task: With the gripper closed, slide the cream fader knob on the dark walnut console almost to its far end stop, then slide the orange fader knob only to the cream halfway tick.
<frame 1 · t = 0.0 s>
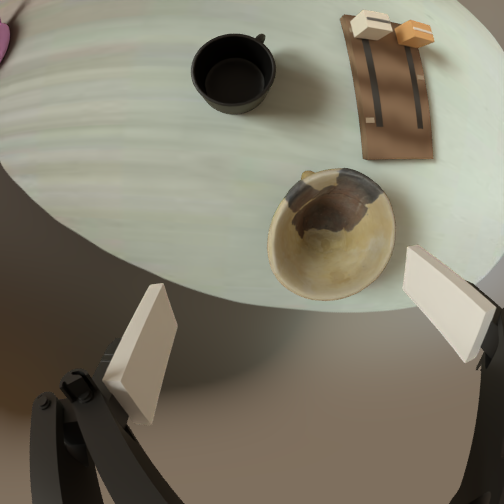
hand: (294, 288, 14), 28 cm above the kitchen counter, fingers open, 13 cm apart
cream fader knob: (371, 25, 25), point 5 cm above the kitchen counter, slide at 0.0 cm
orange fader knob: (414, 34, 25), point 5 cm above the kitchen counter, slide at 0.0 cm
mug: (239, 77, 33), on the kitchen counter
bowl: (318, 219, 42), on the kitchen counter
console board: (389, 86, 33), on the kitchen counter
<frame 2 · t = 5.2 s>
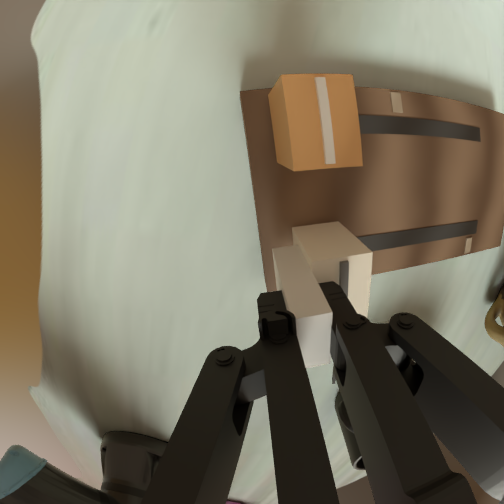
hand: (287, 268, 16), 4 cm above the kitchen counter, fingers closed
cream fader knob: (328, 272, 15), point 5 cm above the kitchen counter, slide at 0.5 cm, touching gripper
orange fader knob: (310, 123, 12), point 5 cm above the kitchen counter, slide at 0.0 cm
mug: (363, 388, 27), on the kitchen counter
teapot: (217, 503, 47), on the kitchen counter
console board: (408, 178, 18), on the kitchen counter
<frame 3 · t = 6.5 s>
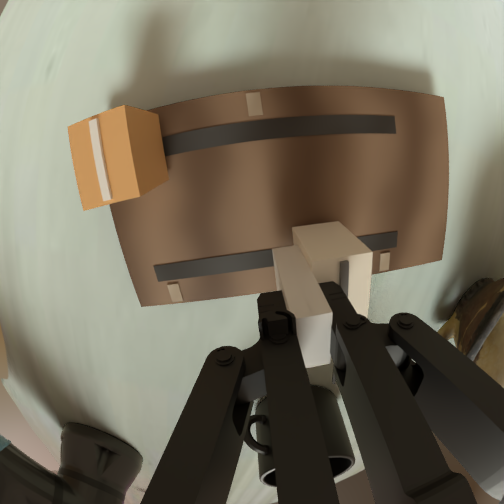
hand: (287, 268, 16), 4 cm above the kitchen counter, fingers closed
cream fader knob: (329, 271, 15), point 5 cm above the kitchen counter, slide at 9.8 cm, touching gripper
orange fader knob: (122, 155, 12), point 5 cm above the kitchen counter, slide at 0.0 cm
mug: (286, 404, 27), on the kitchen counter
bowl: (471, 301, 24), on the kitchen counter
console board: (293, 187, 18), on the kitchen counter
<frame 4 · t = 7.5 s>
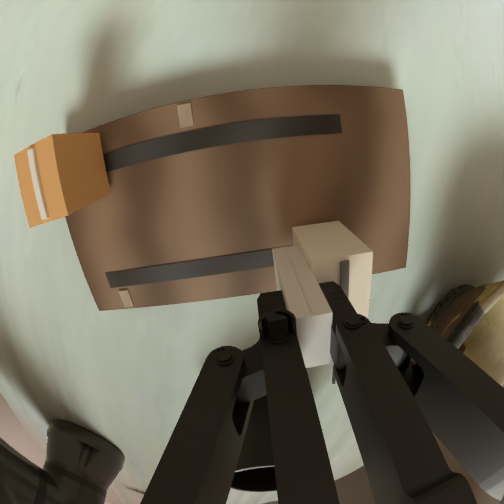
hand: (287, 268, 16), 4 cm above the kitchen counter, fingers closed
cream fader knob: (329, 271, 15), point 5 cm above the kitchen counter, slide at 13.7 cm, touching gripper
orange fader knob: (63, 175, 12), point 5 cm above the kitchen counter, slide at 0.0 cm
mug: (252, 409, 27), on the kitchen counter
bowl: (449, 309, 24), on the kitchen counter
console board: (234, 194, 18), on the kitchen counter
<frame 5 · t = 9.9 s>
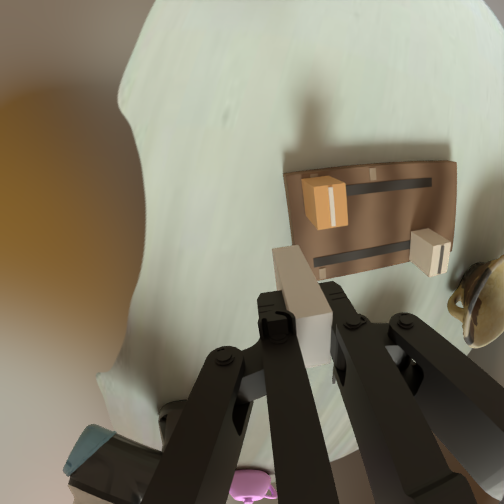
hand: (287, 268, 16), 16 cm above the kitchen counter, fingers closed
cream fader knob: (429, 251, 29), point 5 cm above the kitchen counter, slide at 13.8 cm
orange fader knob: (324, 200, 26), point 5 cm above the kitchen counter, slide at 0.0 cm
teapot: (244, 474, 61), on the kitchen counter
bowl: (470, 278, 37), on the kitchen counter
console board: (381, 214, 32), on the kitchen counter
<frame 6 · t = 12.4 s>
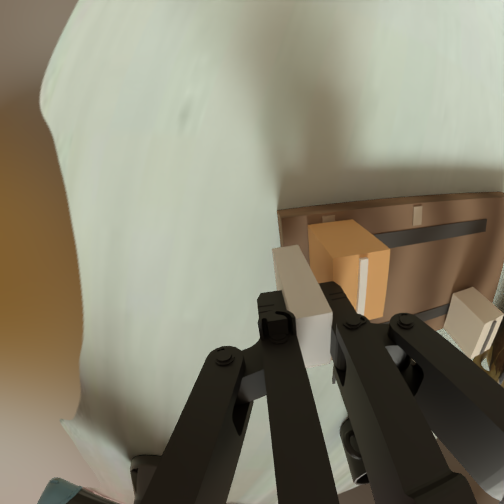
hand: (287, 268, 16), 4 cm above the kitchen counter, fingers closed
cream fader knob: (473, 322, 18), point 5 cm above the kitchen counter, slide at 13.8 cm
orange fader knob: (345, 269, 15), point 5 cm above the kitchen counter, slide at 0.0 cm, touching gripper
mug: (364, 418, 30), on the kitchen counter
bowl: (498, 329, 26), on the kitchen counter
console board: (416, 268, 21), on the kitchen counter
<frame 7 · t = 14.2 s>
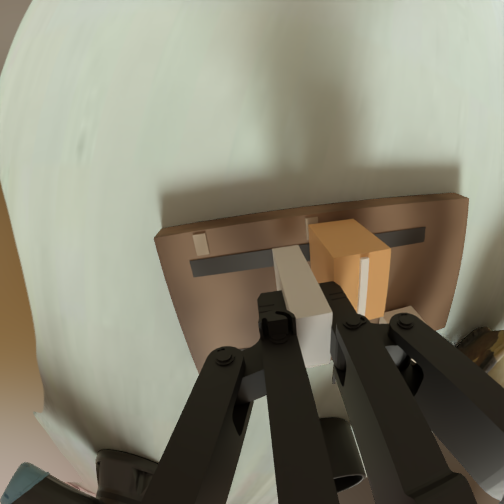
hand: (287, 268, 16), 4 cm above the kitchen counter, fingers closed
cream fader knob: (405, 347, 18), point 5 cm above the kitchen counter, slide at 13.8 cm
orange fader knob: (345, 268, 15), point 5 cm above the kitchen counter, slide at 8.2 cm, touching gripper
mug: (309, 431, 30), on the kitchen counter
bowl: (467, 345, 26), on the kitchen counter
console board: (333, 284, 21), on the kitchen counter
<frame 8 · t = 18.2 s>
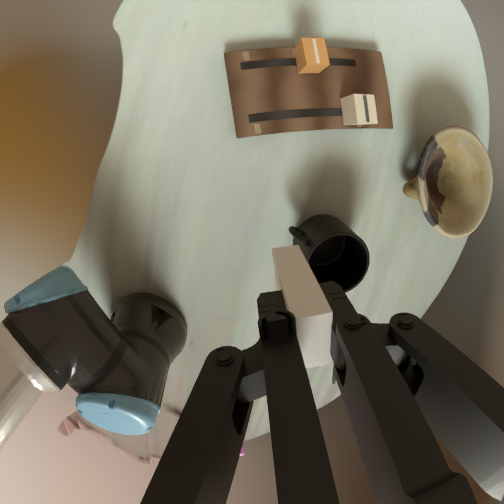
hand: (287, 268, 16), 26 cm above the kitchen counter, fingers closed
cream fader knob: (358, 110, 31), point 5 cm above the kitchen counter, slide at 13.8 cm
orange fader knob: (311, 55, 28), point 5 cm above the kitchen counter, slide at 8.2 cm
mug: (314, 237, 44), on the kitchen counter
bowl: (428, 174, 40), on the kitchen counter
console board: (312, 88, 34), on the kitchen counter
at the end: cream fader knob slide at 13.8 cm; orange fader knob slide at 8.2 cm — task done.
